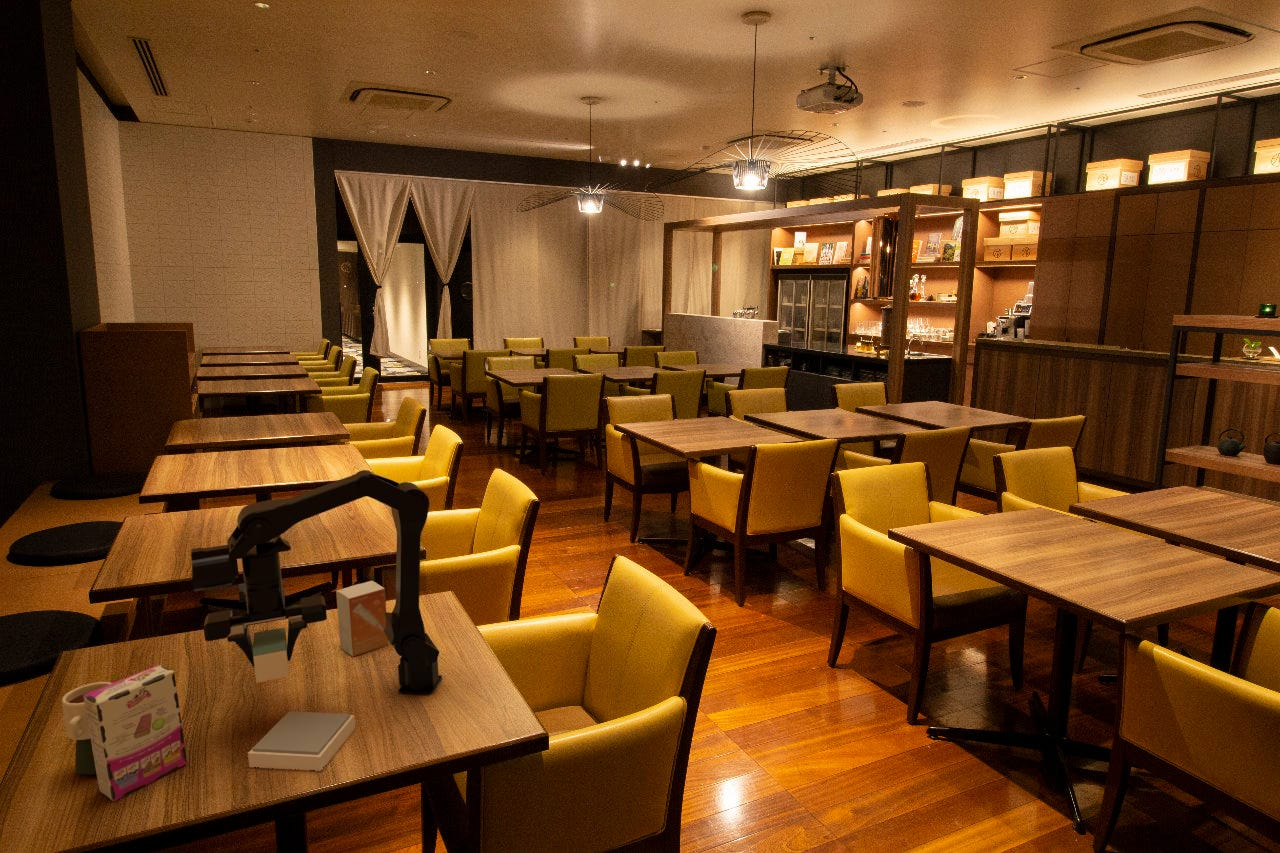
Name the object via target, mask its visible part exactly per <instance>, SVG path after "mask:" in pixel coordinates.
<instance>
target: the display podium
mask: <svg viewBox="0 0 1280 853" xmlns="http://www.w3.org/2000/svg"><path fill="white" fill-rule="evenodd" d="M355 720H356V719H355V715H353V714H350V713H334V712H312V711H311V712H309V711H291V710H289V711H288V712H287V713H286V714H285V715H283V717H282V718H281V719H280V720H279V721H278V722H277V723H276V724H275V725H274V726H273V727H272V728H271V729H270V730H269V731H268V732H267V733H266V734H265V735H264V736H263V737H262V738H261V739H260V740H259V741H258V742H257V743H256V744H255V745H254V746H253V747H252V748H251V749H250V751H248V752H247V758H248V766H249V768H254V767H256V768H257V767H259V768H258V769H272V768H273V770H290V769H291V770H293V771H294V770H295V769H296V770H295V771H297V770H298V769H299V770H298V771H309V770H315V771H314V772H322V771H323V770H324V768H325V767H326V766H327V765H328V763H330V761H331V760H332V758H333V757H334V756H335V755H336V753H337V752H338V751H339V750H340V748H341V747H342V746H343V744H344V743H345V742H346V740H347V739H349V737H350V736H351V734H352V733H353V732H354V731H355V729H356V721H355ZM325 765H326V766H325ZM323 767H324V768H323ZM256 768H255V769H256ZM321 770H322V771H321Z"/></svg>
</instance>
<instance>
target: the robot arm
mask: <svg viewBox="0 0 1280 853" xmlns="http://www.w3.org/2000/svg"><path fill="white" fill-rule="evenodd" d="M366 497H368V498H370V499H371V498H372V499H373V500H375V501H378V502H379V503H381V504H384V505H386V506H388V507H389V508H390V509H391V510H390V511H391V514H392V519H393V523H394V526H395V530H396V556H395V558H396V561H395V562H396V563H395V564H396V565H395V566H396V567H395V604H394V606H393V609H392V612H391V611H389V612H387V611H386V612H385V619H386V627H385V629H384V633H385V635H386V636H387V638H388V643H390V645H391V646H392V647H393V648H394V650H395V652H396V654H397V655H399V656H400V658H399V663H398V665H397V671H398V673H397V674H398V684H399V686H400V687H399V688H398V690H397V691H398V693H399V694H411V695H412V694H413V695H431V694H433V692H434V690H436V689H437V688H436V687H437V686H438V685H439V683H440V682H441V680H442V679H443V676H442V675H440V674H439V661H438V659H439V656H440V651H439V649H438V648H437V646H436V645H435V643H434V642H433V640H432V639H431V636H429V635H428V633H426V630H425V626H424V620H423V617H422V613H421V608H420V584H421V583H420V580H421V579H420V578H421V576H420V575H421V539H422V538H421V537H422V533H423V530H424V529H425V528H424V527H425V525H426V523H427V520H428V516H429V515H428V514H429V511H430V510H429V509H430V504H431V503H430V499H429V496H428V495H427V494H426V493H425V491H424V490H422V489H421V488H419V486H418V485H416V484H415V483H413V482H409V481H404V482H397V481H395V480H392V479H391V478H388V477H385V476H381V475H378V474H376V473H374V472H372V471H371V470H368V469H367V470H366V469H363V470H359V471H357V472H356V473H355V474H352V475H349V476H347V477H344V478H341V479H339V480H335V481H333V482H330V483H328V484H324V485H322V486H319V487H317V488H316V487H315V488H314V489H310V490H309V491H306V492H303V493H299V494H297V495H295V496H292V497H291V496H290V497H287V498H278V499H276V498H275V499H268V500H263V501H258V502H253V503H249V504H247V505H245V506H244V507H243V508H241V510H240V511H239V514H238V515H237V520H236V523H237V525H236V527H235V528H234V530H233V531H232V533H231V534H230V535H229V537H228V538H227V541H226V543H227V544H223V545H217V546H210V547H197V548H192V549H191V550H190V556H191V557H190V558H191V579H192V586H193V591H194V592H198V591H203V590H204V591H205V590H209V589H217V588H221V587H226V586H231V585H233V582H236V579H237V578H239V577H240V572H239V571H240V570H239V564H238V560H239V559H241V563H242V564H241V566H242V573H243V581H244V583H237V588H238V589H237V590H238V599H239V600H238V601H239V603H244V602H246V609H247V613H245V614H239V615H233V610H232V609H228V610H222V611H216V612H211V613H208V614H207V616H206V617H205V620H204V625H203V634H204V635H203V636H204V641H206V642H211V641H217V640H223V639H227V642H228V643H231V642H233V643H235V644H236V645H237V646H238V647H239V648H240V650H241V651H242V652H243V653H244V655H245V656H246V658H247V659H248V661H249V663H250V664H251V666H252V667H253V668H254V669H255V667H254V658H253V642H252V641H253V640H252V638H251V634H250V627H249V626H254V625H261V624H264V623H270V622H276V621H282V620H287V621H288V622H287V637H286V640H287V658H288V662H291V660H292V656H293V652H294V648H295V646H296V643H297V639H298V637H299V636H300V633H301V631H302V630H303V629H307V628H308V624H309V625H310V624H315V623H318V622H319V623H320V622H324V621H326V620H327V619H328V617H327V616H328V615H327V614H328V613H327V605H326V600H325V599H326V598H325V597H324V596H323V595H321V594H320V595H319V594H317V595H313V596H307V597H301V598H300V604H298V605H297V604H296V605H293V606H292V605H291V606H287V607H286V606H285V605H286V598H285V590H284V588H283V578H282V569H281V568H282V567H281V559H280V558H281V557H280V553H283V552H288V551H291V550H292V547H291V545H290V544H291V543H290V541H289V540H287V539H284V538H282V536H281V535H283V534H284V533H286V532H288V530H290V529H291V528H292V527H294V526H295V525H297V524H299V523H300V522H302V521H304V520H306V519H309V518H312V517H315V516H317V515H320V514H323V513H326V512H328V511H331V510H333V509H336V508H339V507H342V506H344V505H347V504H349V503H351V502H355V501H357V500H359V499H363V498H366Z"/></svg>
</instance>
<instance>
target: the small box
mask: <svg viewBox="0 0 1280 853" xmlns="http://www.w3.org/2000/svg"><path fill="white" fill-rule="evenodd" d="M335 595H336V605H337V619H338V620H337V621H338V632H339V633H338V634H339V646H340V648H341V649H342V650H343V651H344V652H346V653H347V654H348V655H350V656H351V657H352V658H353V657H356V656H360V655H361V654H364V653H367V652H371V651H374V650H377V649H379V648H382V647H383V648H384V647H386V646H388V645H389V640H388V638H387V636H386V635H385V633H384V629H385V627H386V619H385V612H387V602H386V599H387V598H386V589H385V587H383V586H381V585H380V584H378V583H377V582H375V581H374V580H369V581H365V582H362V583H357V584H353V585H350V586H348V587H347V586H346V587H344V588H340V589H337V590H336V591H335Z"/></svg>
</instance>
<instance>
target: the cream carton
mask: <svg viewBox="0 0 1280 853" xmlns="http://www.w3.org/2000/svg"><path fill="white" fill-rule="evenodd" d="M252 641H253V642H252V645H253V658H254V667H255V668H254V667H253V668H254V673H255V674H254V675H255V683H257V684H258V683H261V682H267V681H271V680H272V681H273V680H277V679H282V678H287V677H290V675H289V674H290V673H289V672H290V670H289V669H290V668H289V667H290V666H289V663H290V662H289V661H288V658H287V631H286V627H279V628H274V629H269V630H263V631H258V632H257V631H256V632H253V640H252Z"/></svg>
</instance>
